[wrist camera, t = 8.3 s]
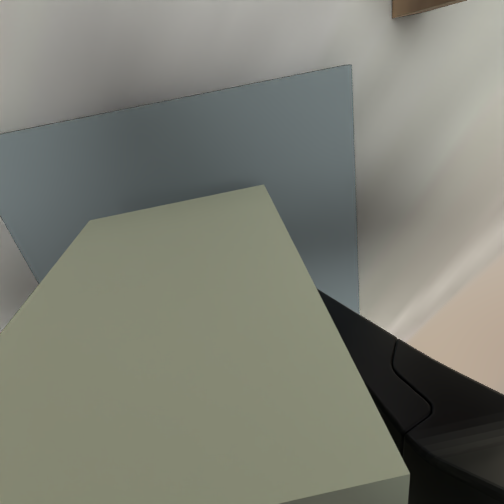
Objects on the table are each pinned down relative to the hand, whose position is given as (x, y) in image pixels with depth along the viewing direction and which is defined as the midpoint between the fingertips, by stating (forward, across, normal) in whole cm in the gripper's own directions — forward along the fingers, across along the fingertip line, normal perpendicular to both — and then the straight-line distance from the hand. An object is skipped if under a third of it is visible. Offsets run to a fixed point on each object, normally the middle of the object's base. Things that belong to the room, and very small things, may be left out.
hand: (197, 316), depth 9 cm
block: (+2, 0, 0) cm, 2 cm away
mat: (+5, 0, 0) cm, 5 cm away
